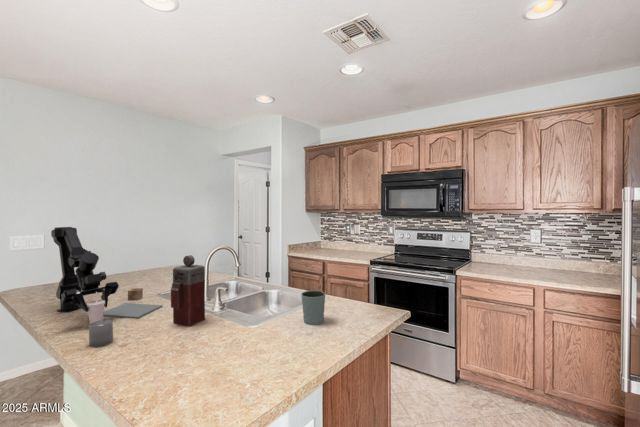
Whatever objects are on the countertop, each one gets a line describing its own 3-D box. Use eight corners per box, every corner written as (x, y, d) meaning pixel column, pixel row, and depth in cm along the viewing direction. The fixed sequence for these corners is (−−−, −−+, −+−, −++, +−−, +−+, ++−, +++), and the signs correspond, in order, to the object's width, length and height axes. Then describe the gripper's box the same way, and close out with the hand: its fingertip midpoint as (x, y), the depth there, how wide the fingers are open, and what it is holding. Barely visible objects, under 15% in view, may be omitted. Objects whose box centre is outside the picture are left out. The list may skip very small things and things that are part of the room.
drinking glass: (330, 321, 134) (330, 293, 134) (313, 328, 127) (313, 298, 126) (313, 315, 141) (313, 288, 141) (296, 321, 134) (296, 293, 133)
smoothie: (95, 329, 124) (95, 294, 123) (82, 328, 125) (81, 293, 125) (109, 323, 130) (109, 290, 130) (96, 322, 131) (96, 289, 131)
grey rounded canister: (84, 346, 110) (83, 326, 109) (101, 337, 116) (100, 319, 116) (101, 347, 108) (101, 327, 108) (117, 339, 115) (117, 320, 115)
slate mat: (97, 315, 139) (97, 314, 139) (125, 304, 155) (125, 302, 155) (138, 318, 136) (138, 316, 136) (162, 306, 152) (162, 305, 152)
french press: (168, 325, 129) (167, 257, 128) (189, 316, 139) (188, 253, 138) (185, 328, 125) (184, 258, 124) (205, 319, 136) (204, 254, 135)
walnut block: (127, 300, 161) (127, 291, 161) (132, 297, 166) (132, 288, 166) (138, 300, 162) (138, 290, 162) (142, 297, 167) (142, 288, 166)
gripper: (62, 270, 122) (73, 303, 115) (116, 263, 137) (128, 292, 131) (57, 287, 127) (66, 320, 120) (109, 278, 142) (120, 307, 135)
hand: (97, 309), depth 127 cm, fingers closed on smoothie, 6 cm apart
